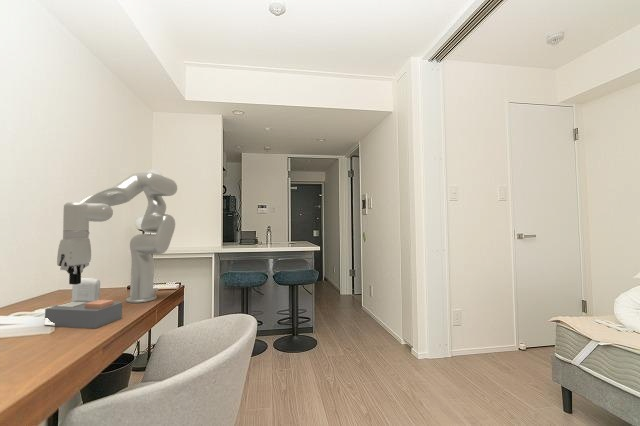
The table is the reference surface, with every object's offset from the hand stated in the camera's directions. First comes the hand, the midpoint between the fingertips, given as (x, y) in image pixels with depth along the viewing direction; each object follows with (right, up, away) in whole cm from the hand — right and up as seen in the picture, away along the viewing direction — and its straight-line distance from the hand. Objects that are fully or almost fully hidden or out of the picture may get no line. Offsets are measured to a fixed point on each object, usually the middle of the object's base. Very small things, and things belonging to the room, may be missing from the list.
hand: (75, 283), depth 112 cm
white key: (0, -12, -1) cm, 12 cm away
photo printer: (-11, -15, +19) cm, 26 cm away
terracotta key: (+11, -11, -2) cm, 15 cm away
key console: (+5, -14, -2) cm, 15 cm away
